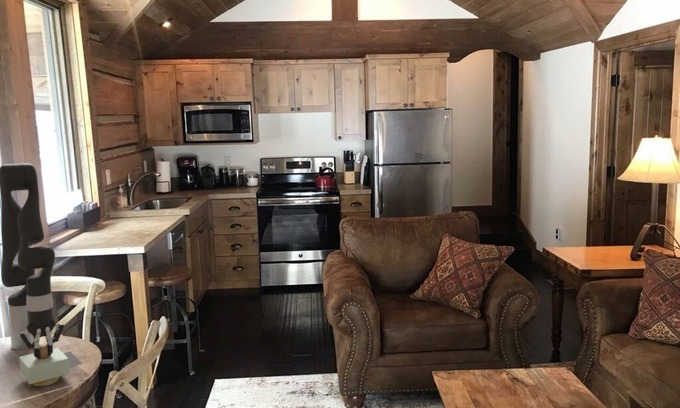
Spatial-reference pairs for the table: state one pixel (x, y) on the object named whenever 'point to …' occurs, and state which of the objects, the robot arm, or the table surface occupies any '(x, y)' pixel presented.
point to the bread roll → (46, 382)
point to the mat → (72, 359)
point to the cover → (44, 365)
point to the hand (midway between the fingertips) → (43, 356)
